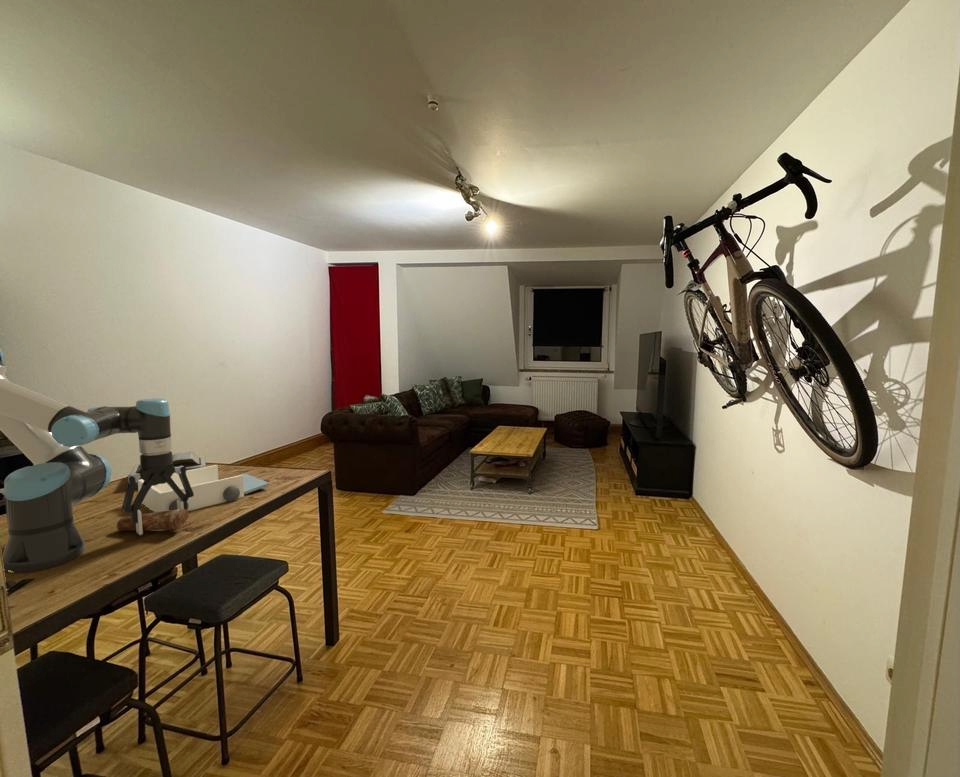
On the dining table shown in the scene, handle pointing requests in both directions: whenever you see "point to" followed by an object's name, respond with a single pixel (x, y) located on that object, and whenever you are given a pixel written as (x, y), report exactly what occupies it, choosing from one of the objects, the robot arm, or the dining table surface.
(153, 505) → the white toy wagon
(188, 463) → the bible
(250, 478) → the tailgate
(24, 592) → the dining table surface
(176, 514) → the bread
